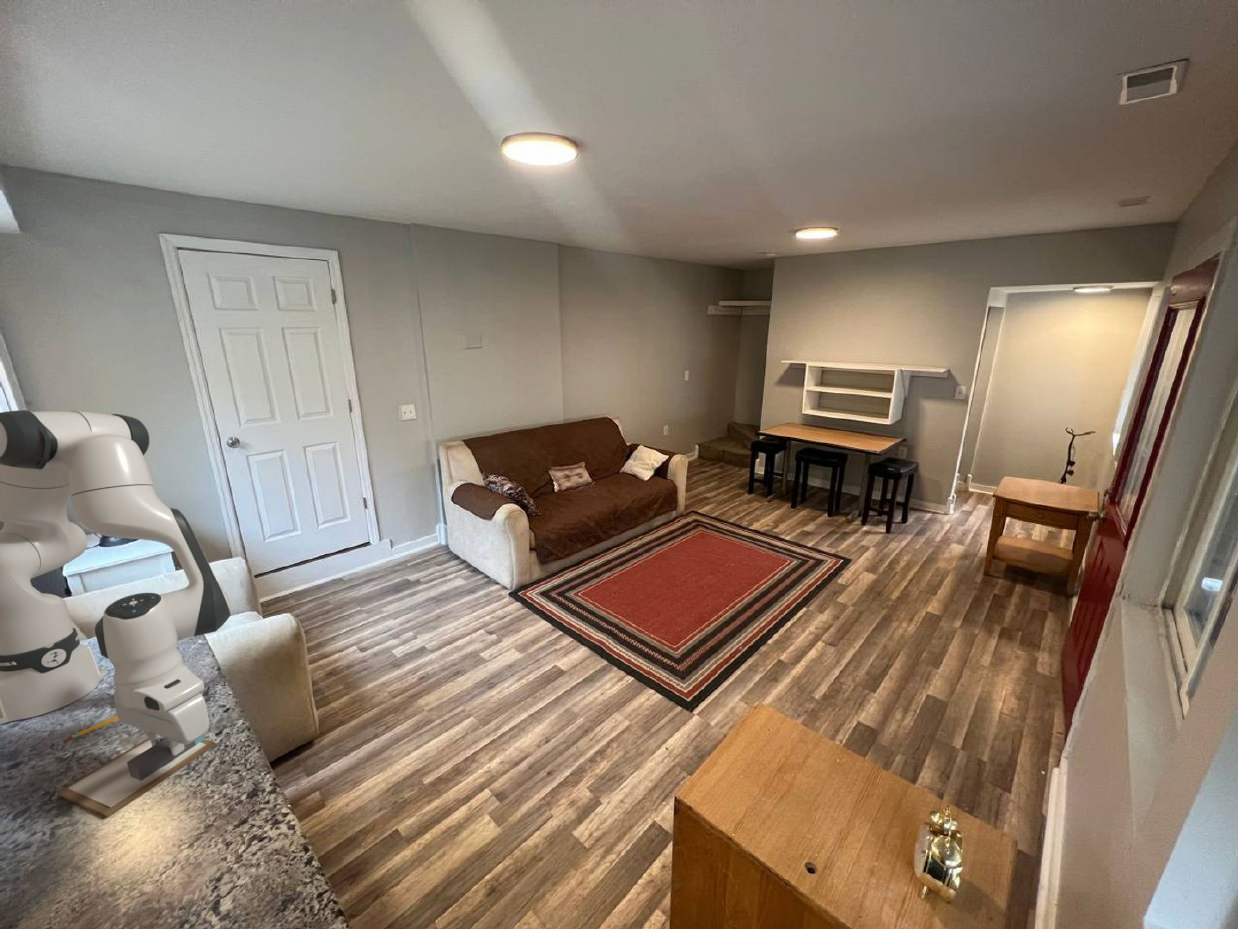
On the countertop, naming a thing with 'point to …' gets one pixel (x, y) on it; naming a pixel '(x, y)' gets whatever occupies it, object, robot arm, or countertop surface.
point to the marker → (155, 758)
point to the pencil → (92, 728)
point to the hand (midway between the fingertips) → (168, 749)
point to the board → (123, 780)
